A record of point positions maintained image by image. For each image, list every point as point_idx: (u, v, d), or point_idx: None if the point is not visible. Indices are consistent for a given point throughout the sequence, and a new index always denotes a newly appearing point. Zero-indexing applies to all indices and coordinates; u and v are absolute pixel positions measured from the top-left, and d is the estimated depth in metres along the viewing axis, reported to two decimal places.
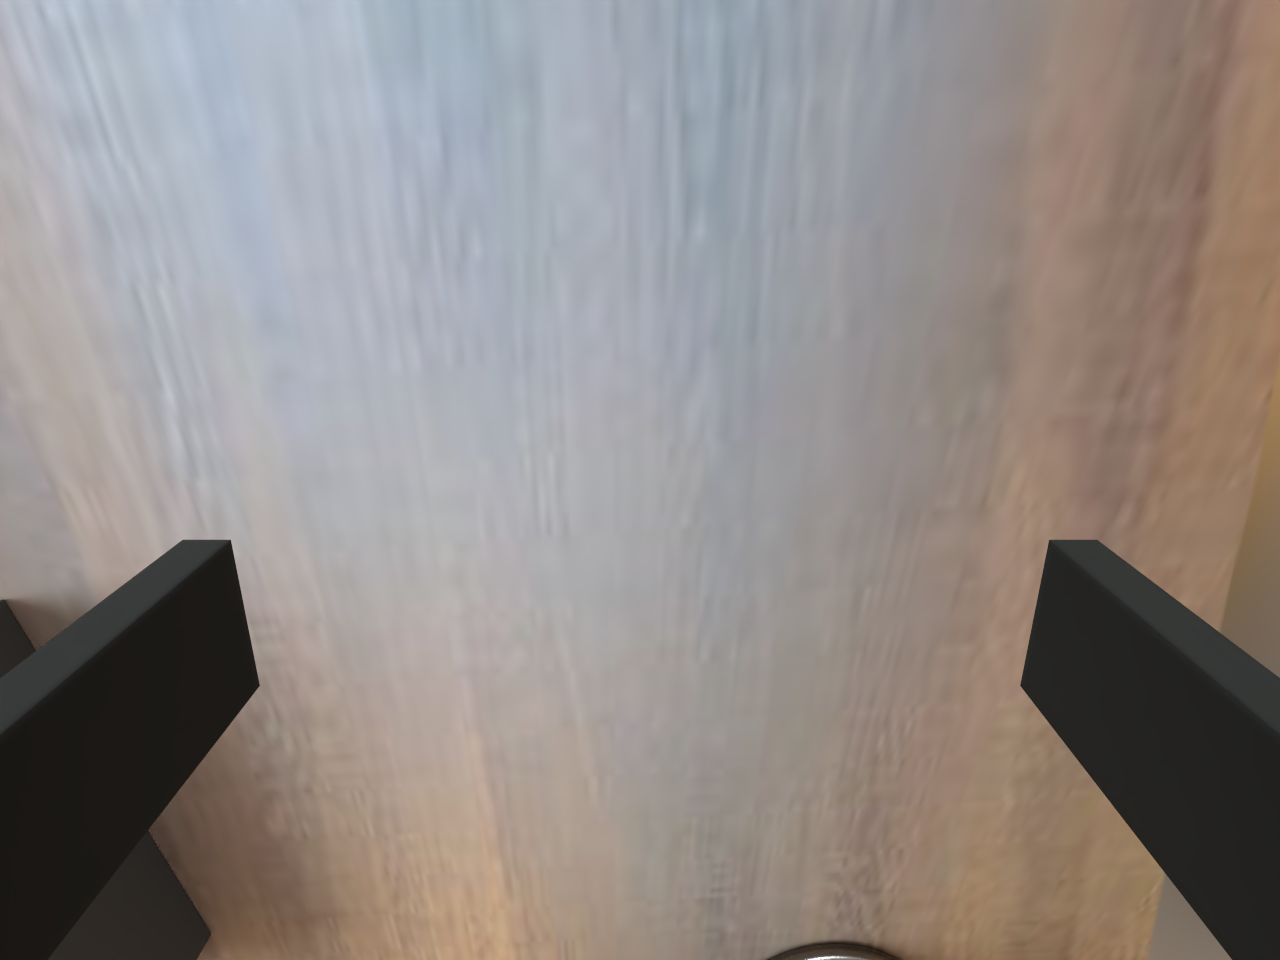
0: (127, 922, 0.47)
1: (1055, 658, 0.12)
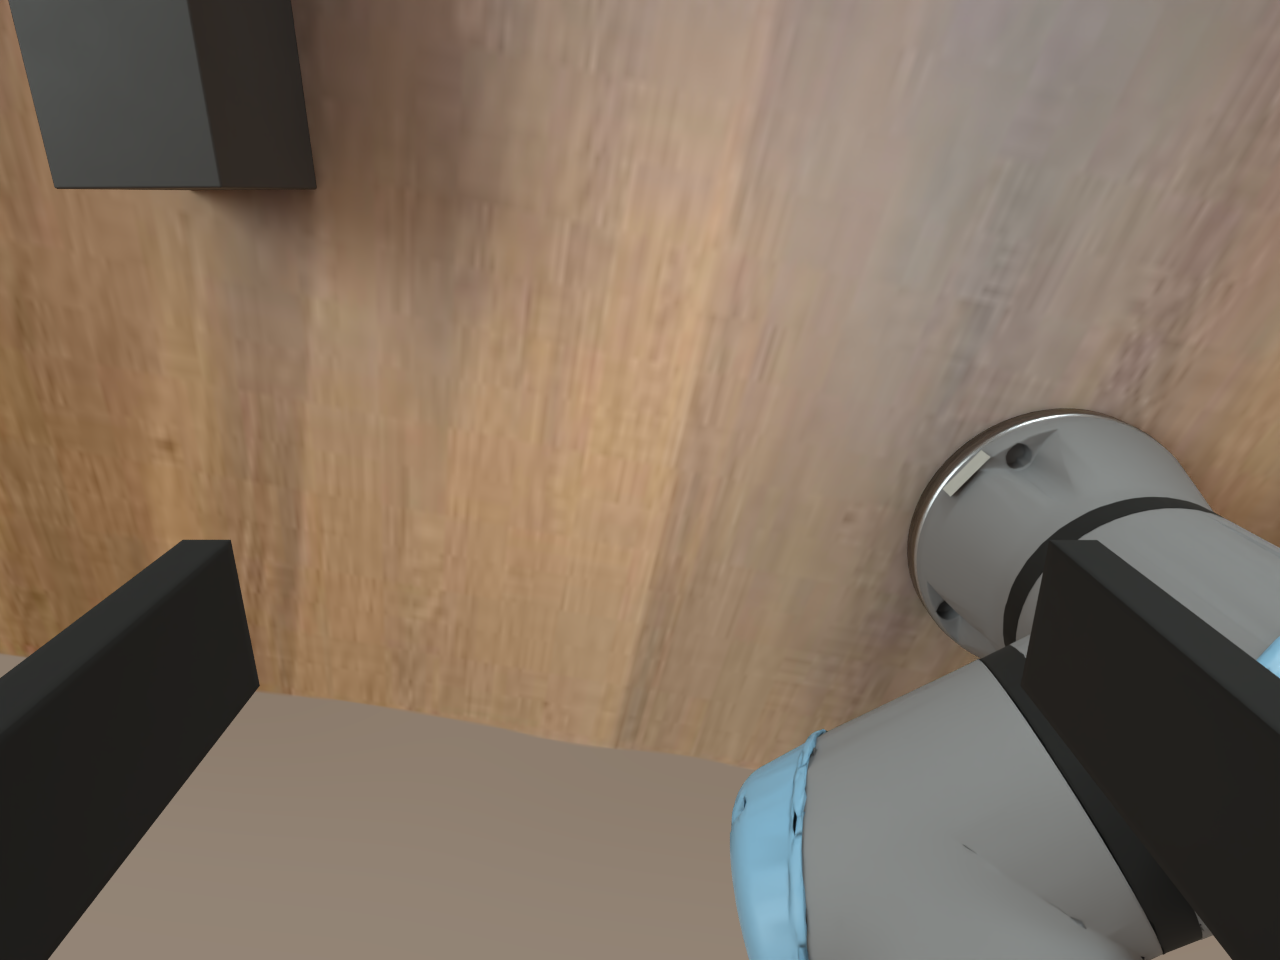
0: (253, 22, 0.32)
1: (1055, 658, 0.12)
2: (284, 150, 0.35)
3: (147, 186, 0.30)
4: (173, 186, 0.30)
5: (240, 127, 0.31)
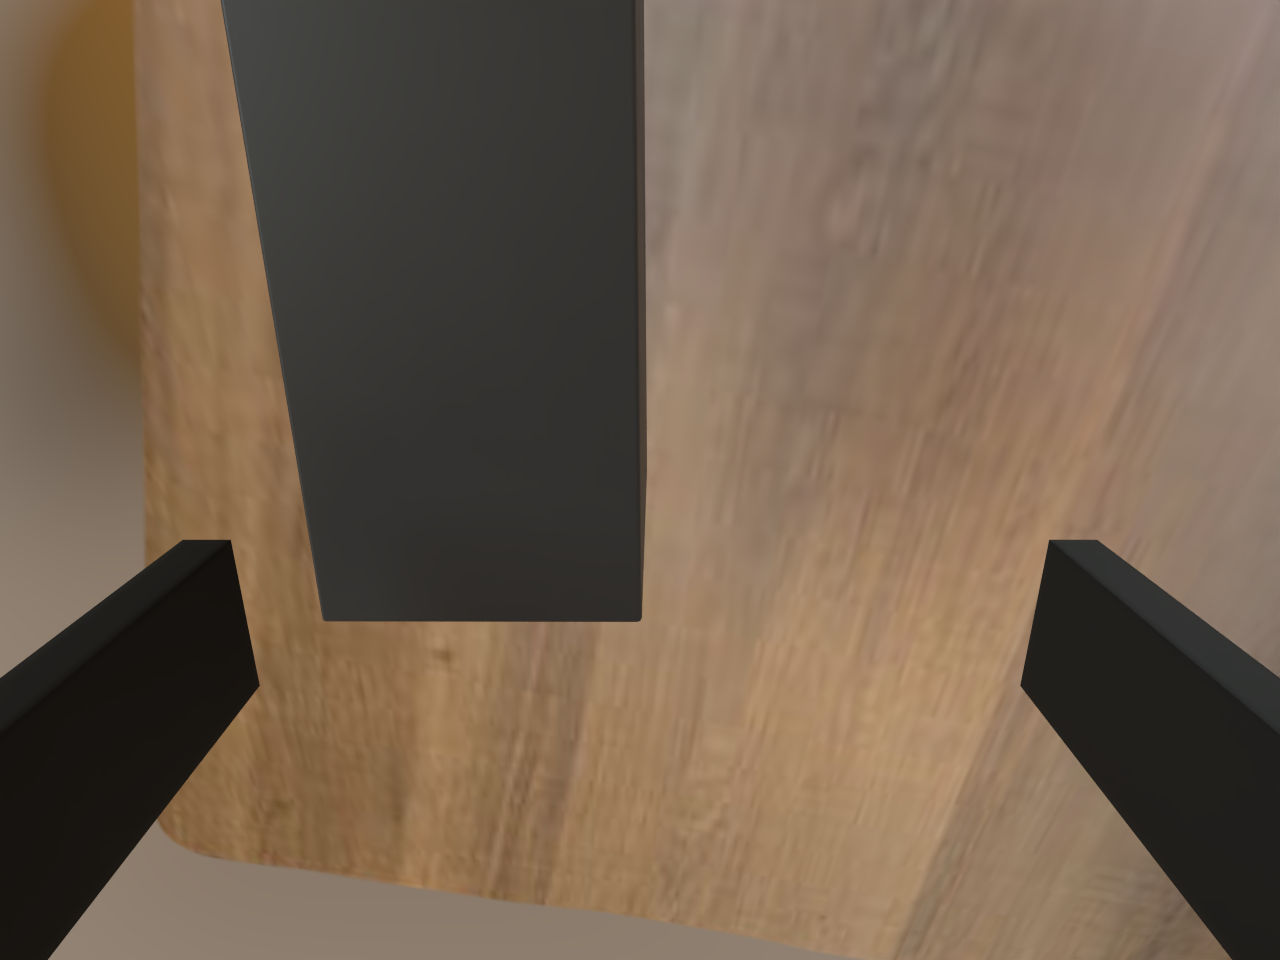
0: None
1: (1055, 658, 0.12)
2: None
3: (499, 620, 0.16)
4: (549, 620, 0.16)
5: (642, 477, 0.17)
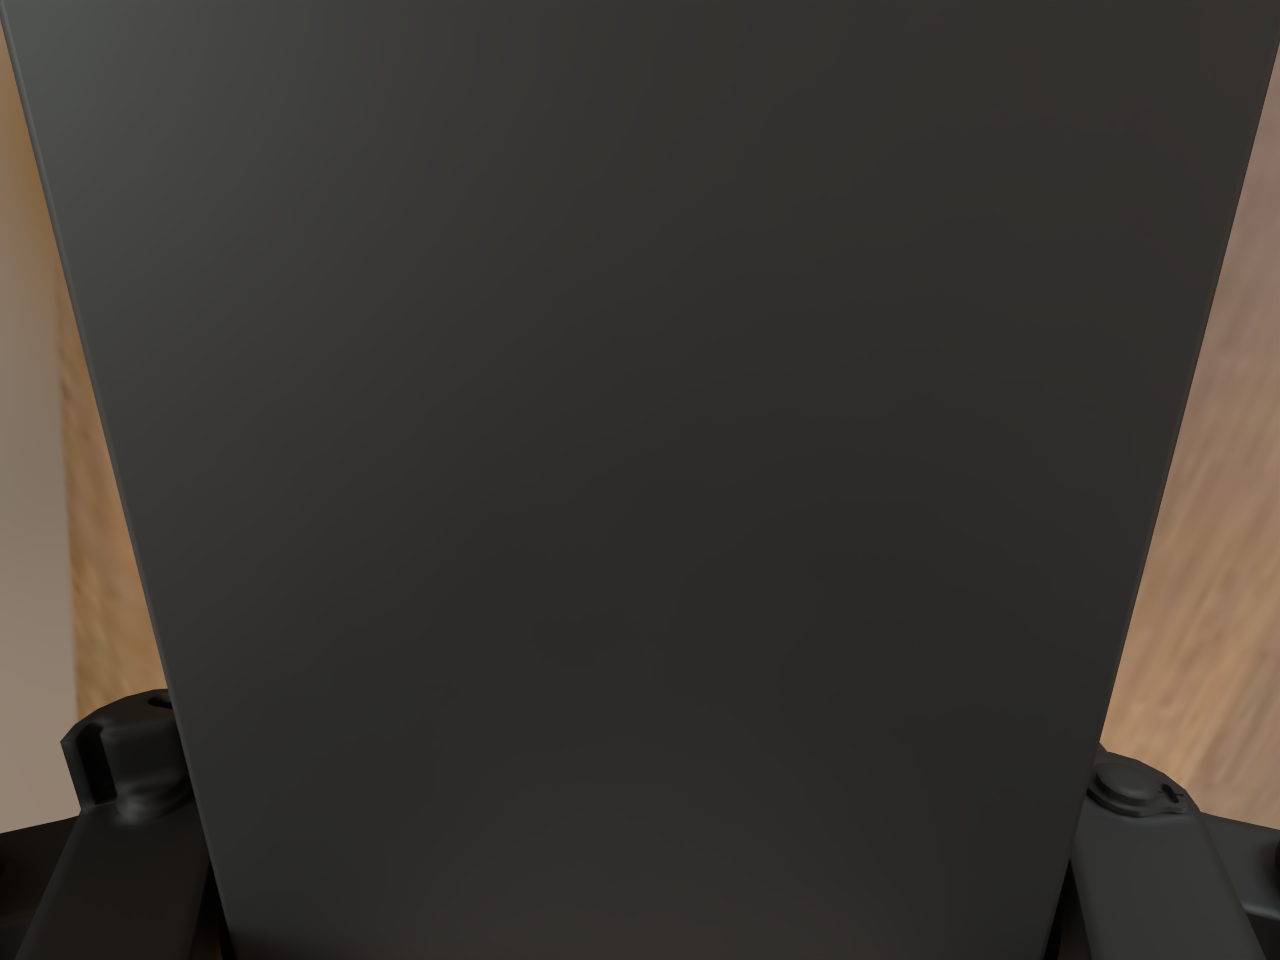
0: None
1: None
2: None
3: None
4: None
5: None
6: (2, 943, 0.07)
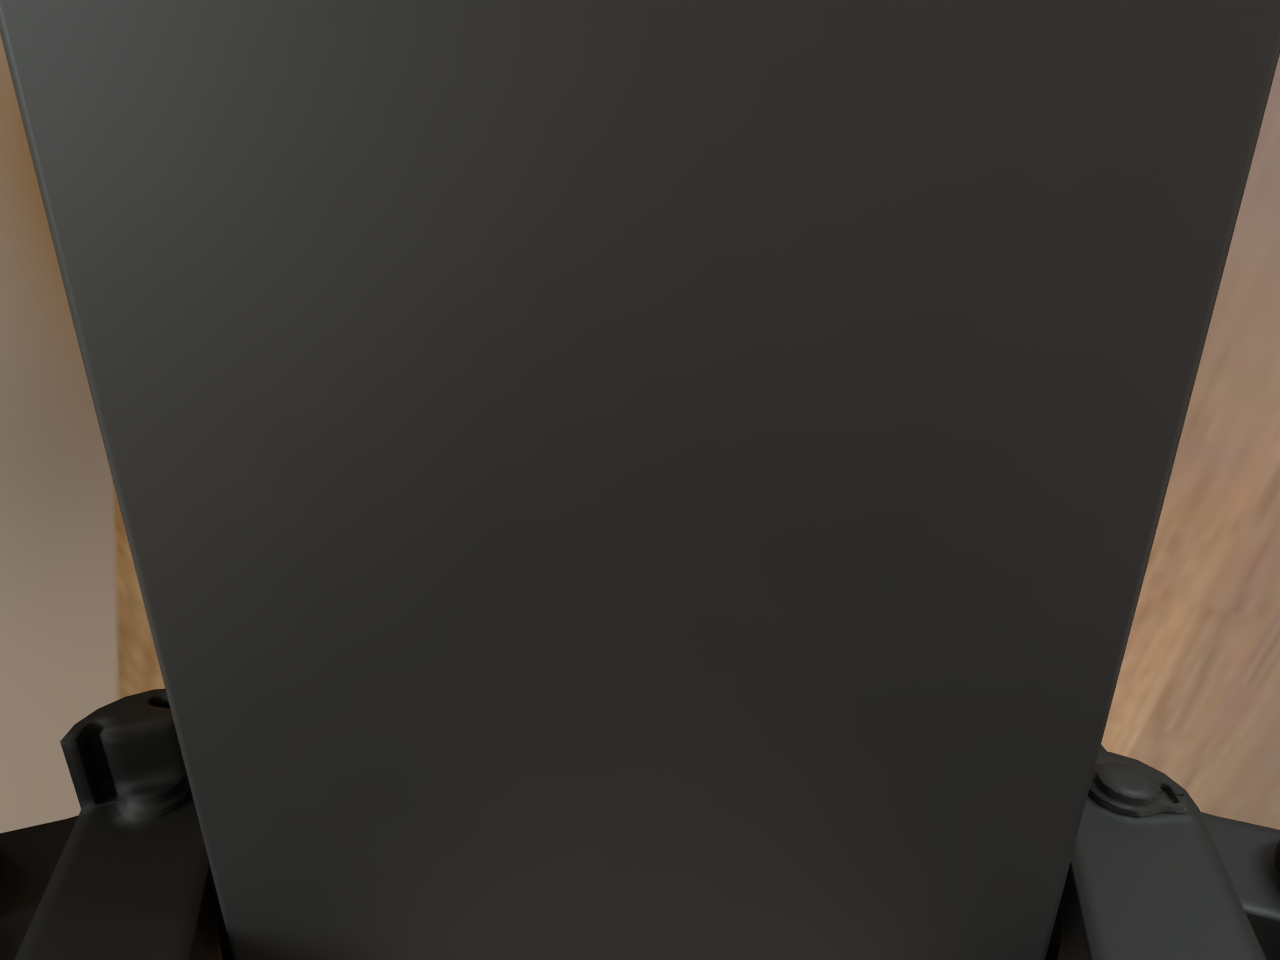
0: None
1: None
2: None
3: None
4: None
5: None
6: (2, 943, 0.07)
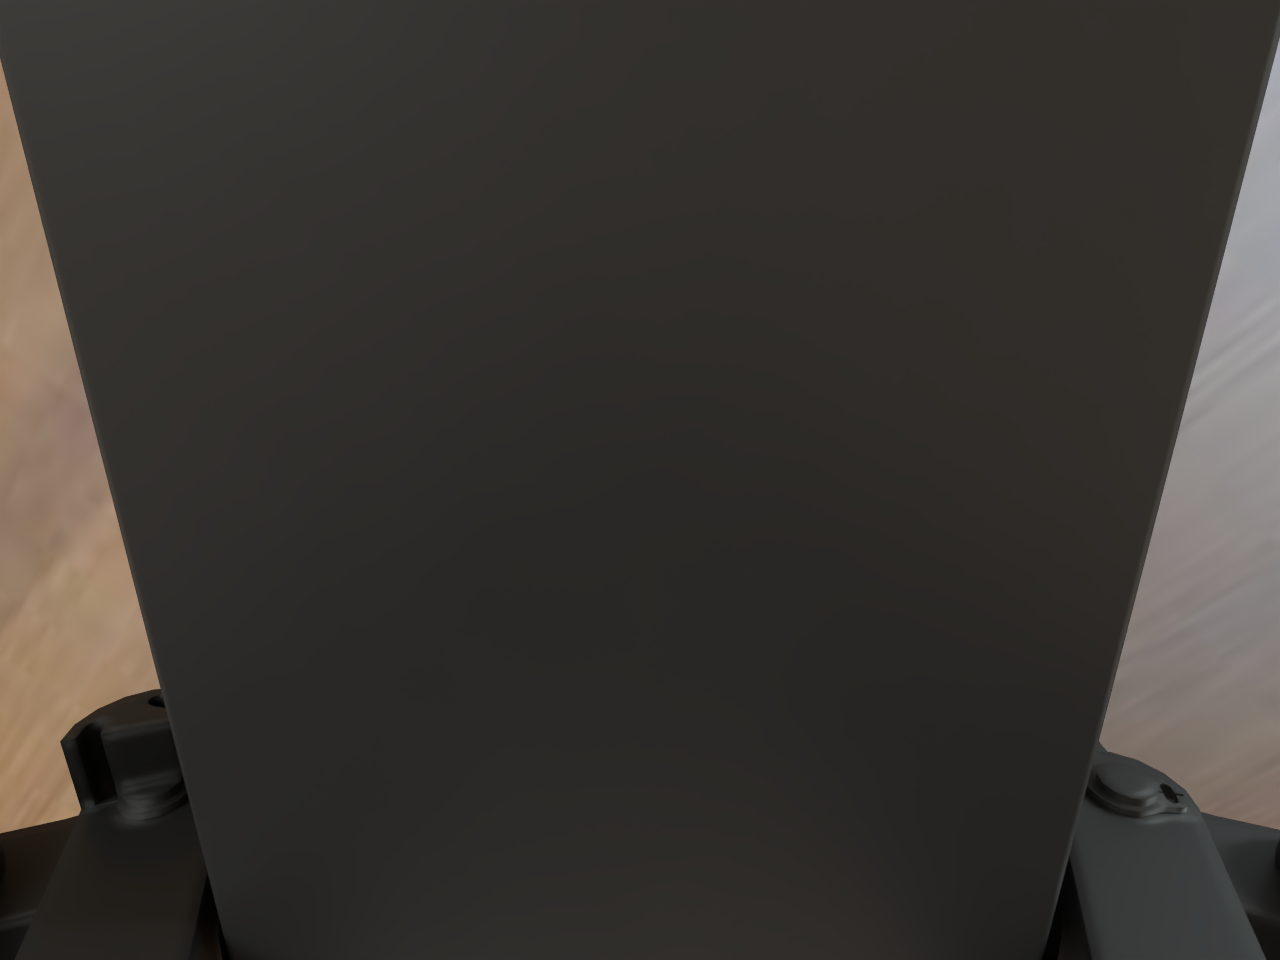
0: None
1: None
2: None
3: None
4: None
5: None
6: (2, 943, 0.07)
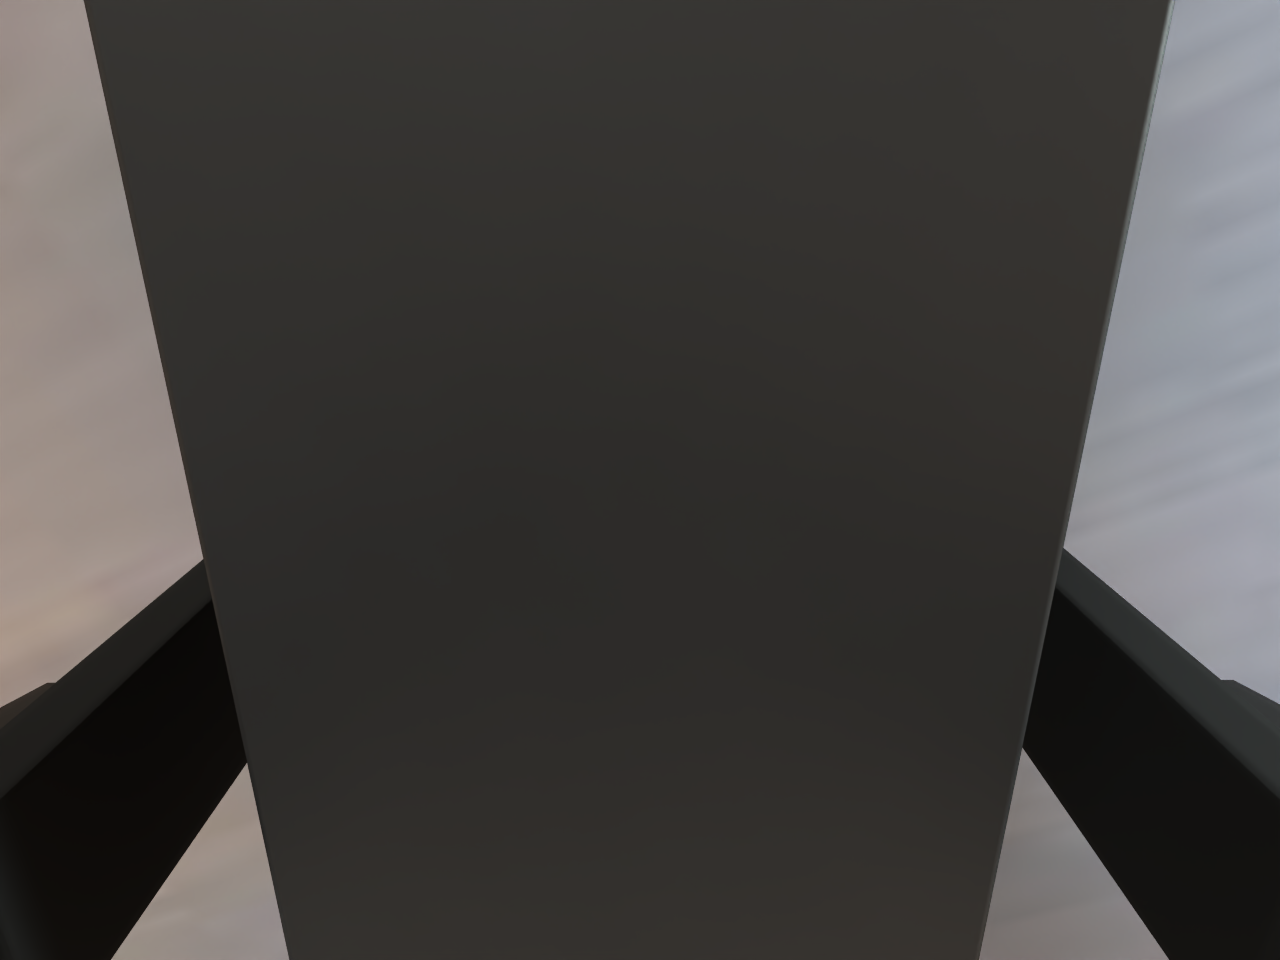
0: None
1: None
2: None
3: None
4: None
5: None
6: None
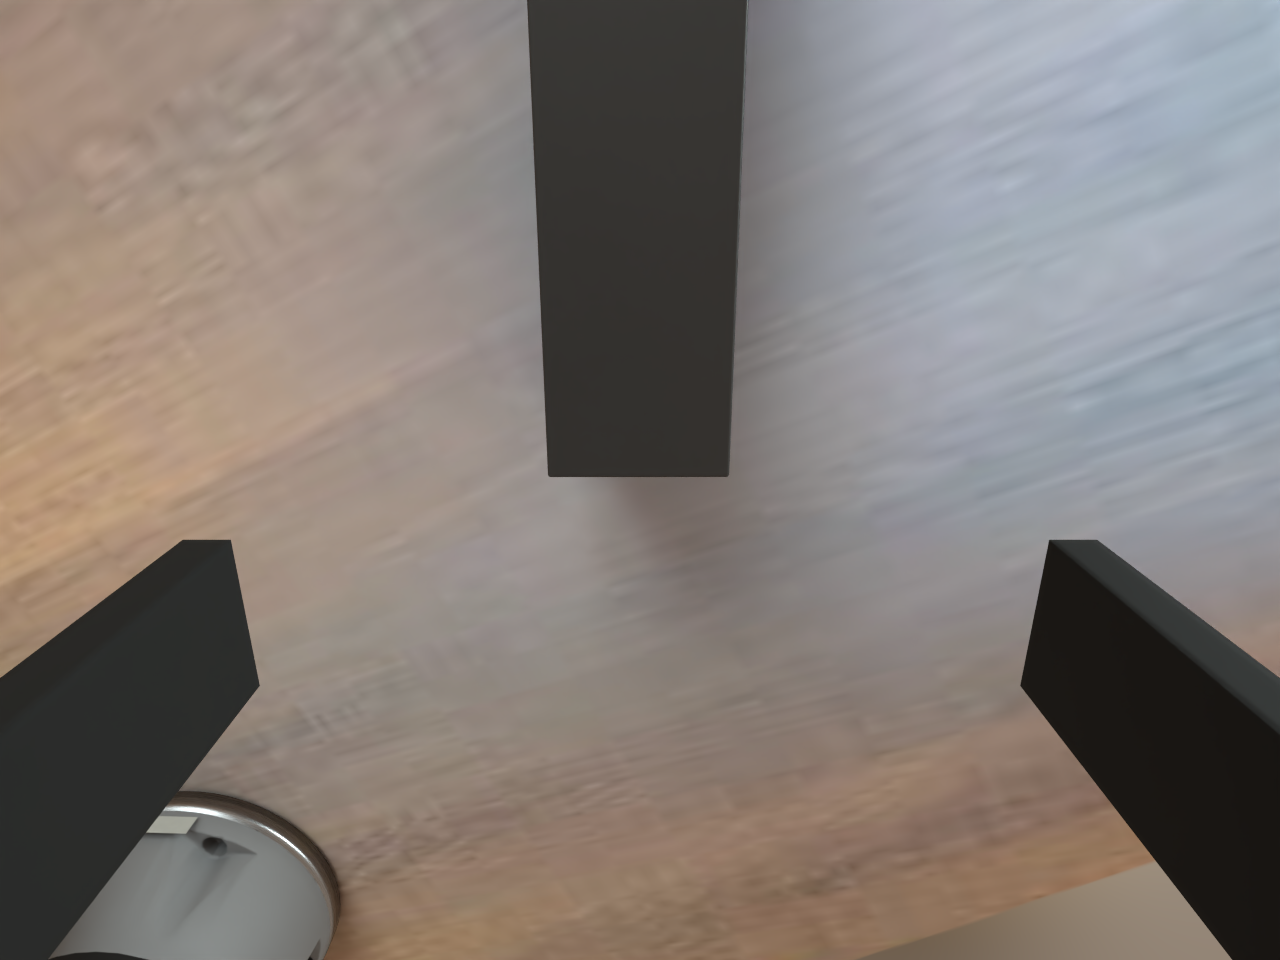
0: None
1: (1055, 658, 0.12)
2: None
3: (649, 475, 0.28)
4: (677, 475, 0.28)
5: None
6: None
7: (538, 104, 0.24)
